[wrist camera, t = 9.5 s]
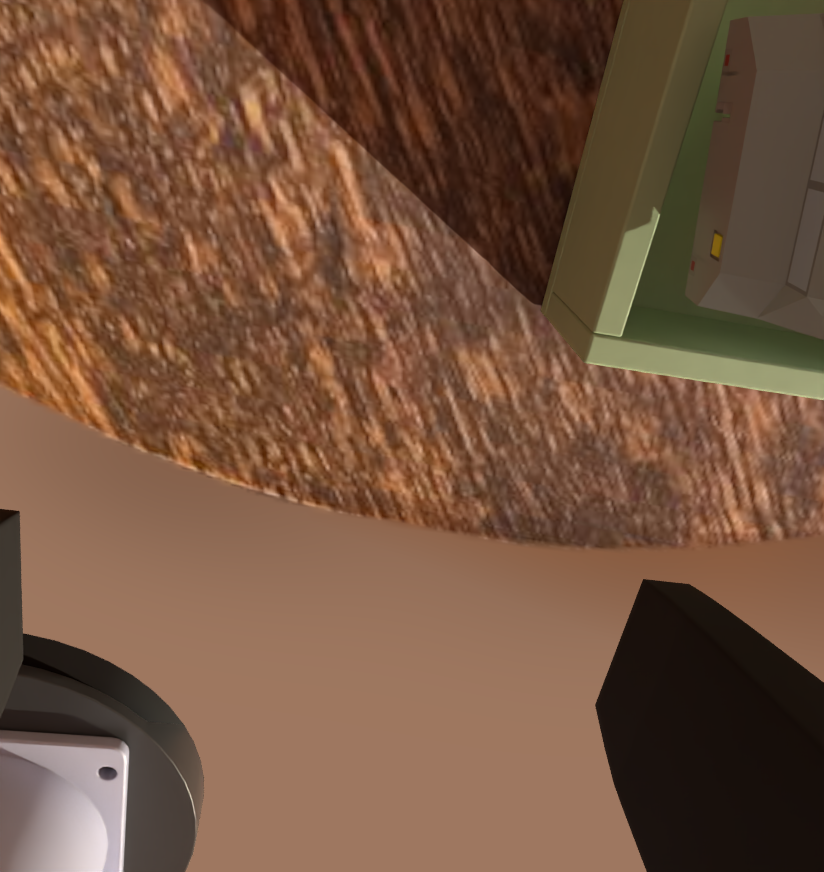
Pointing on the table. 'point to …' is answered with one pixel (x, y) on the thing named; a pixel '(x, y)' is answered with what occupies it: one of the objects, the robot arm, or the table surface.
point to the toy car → (766, 178)
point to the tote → (663, 212)
